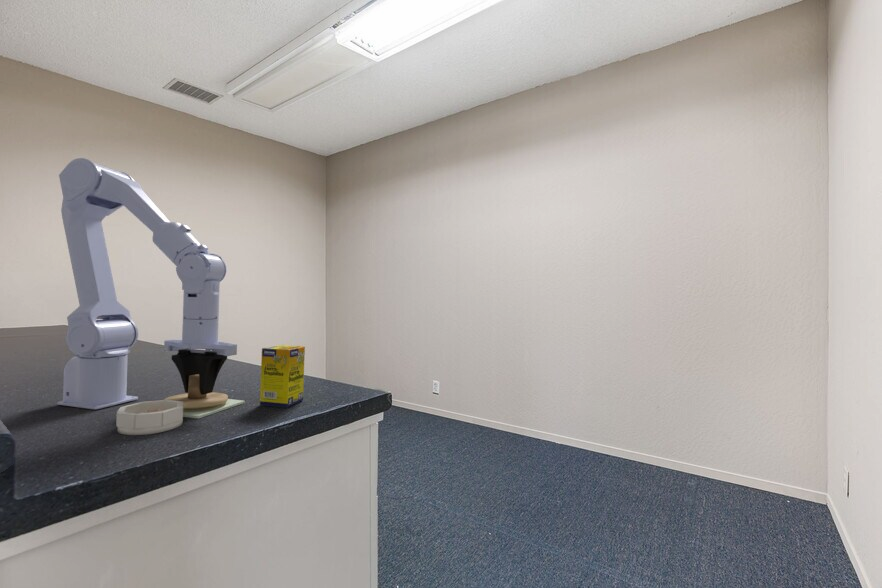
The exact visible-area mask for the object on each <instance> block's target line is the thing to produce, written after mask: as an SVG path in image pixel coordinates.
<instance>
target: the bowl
mask: <svg viewBox="0 0 882 588" xmlns="http://www.w3.org/2000/svg"><path fill="white" fill-rule="evenodd" d="M183 403H184V402H182V401H174V400H165V399H160V400H148V401H140V402H136V403H131V404H128V405H124V406H120V407H119V409H118V410H117V411H116V419H115V420H116V422H115V423H116V424H115V426H116V427H117V433H119V434H120V435H121V434H122V435H127V436H141V435H142V436H143V435H152V434H153V435H154V434H158V433H162V432H163V433H164V432H167V431H171V430H174V429H177V428H179V427H180V426H182V424H183V421H184V419H183V418H184V417H183Z"/></svg>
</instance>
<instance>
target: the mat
mask: <svg viewBox="0 0 882 588" xmlns="http://www.w3.org/2000/svg"><path fill="white" fill-rule="evenodd" d="M242 404H246V401H245V400H241V399H234V398H233V399H232V398H228V401H227V402H225V403H223V404H220V405H216V406H210V407H203V408H183V418H190V419H197V420H198V419H201V418H204V417H208V416H210V415H214V414H216V413H219V412H222V411H225V410H228V409H231V408H234V407H236V406H239V405H242Z"/></svg>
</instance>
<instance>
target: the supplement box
mask: <svg viewBox="0 0 882 588" xmlns="http://www.w3.org/2000/svg"><path fill="white" fill-rule="evenodd" d="M305 348H306V346H301V345H284V344H278V345H275V346H270V347H269V346H268V347H262V348H261V363H260V364H261V365H260V388H259V389H260V392H259V393H260V397H259V405H260V406H264V407H265V406H266V407H273V408H274V407H276V408H285V409H287V408H289V407H290V406H294V405H295V404H298V403H300V401H301V402H303V401H304V387H305V386H304V383H305V381H304V380H305V351H306V350H305ZM302 400H303V401H302Z"/></svg>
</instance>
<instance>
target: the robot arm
mask: <svg viewBox="0 0 882 588" xmlns="http://www.w3.org/2000/svg"><path fill="white" fill-rule="evenodd" d="M58 178H59V183H60V188H61V191H62V193H61V194H62V202H61V203H62V204H61V208H60V209H61V210H60V211H61V218H62V223H63V224H62V225H63V228H64V233H65V239H66V243H67V248H68V254H69V258H70V264H71V269H72V273H73V280H74V283H75V290H76V295H77V299H78V303H79V304H78V305H79V306H78V307H77V308H75V310H73V311H72V312H71V313H70V314H69V315H68V316H67V317H66V319H67V330H66V334H65V341H66V342H65V343H66V345H67V348H68V349H69V350H70V351H71V352H72V354H73V355H74V356H73V357H71V358H70V359H69V360H68V361H67V363H65V366H64V367H63V368H64V369H63V387H62V388H63V389H62V390H63V391H62V400H60V401H58V402H57V403H56V404H57V405H59V406H65V407H75V408H81V409H88V410H99V409H103V408H108V407H113V406H116V405H120V404H124V403H128V402H129V403H130V402H132V401H137V400H138V399H139V397H138V396H136V395H135V396H134V395H127V388H128V387H127V385H128V378H127V377H128V357H129V356H128V354H130V353H131V348H132V347H134V345H135V344H136V343H137V341H138V338H139V329H138V327H137V325H136V323H135V322H134V321H133V319H132V317H131V314H130V310H129V309H128V308H127V307H125V306H124V305H123V304H121V302H119V301H118V298H117V293H116V288H115V284H114V278H113V273H112V269H111V263H110V258H109V254H108V249H107V243H106V239H105V232H104V228H103V224H102V223H103V220H104V219H105V218H106V217H107V216H110V215H112V214H113V213H114V212H116V211H118V210H120V208H122V207H125V208H126V209H127V210H128V211H129V212H130V213H131V214H132V215H133V216H135V218H137V219H138V220H139V221H140V222H141V223H142V224H143V225H144V226H146V228H147V229H149V230H150V231H151V232H152V243H153V244H154V245H155V246H156V247H157V248H158V249H159V250H160V251H161V252H162V253H163V254H164V255H165V256H166V257H167V258H168V259H169V260H170V261H171V262H172V263H173V264H174V266H175V271H176V275H177V276H178V279H179V280H180V281H181V284H182V285H181V286H182V287H181V290H182V291H183V295H182V296H183V297H182V298H183V300H182V301H183V302H182V303H183V305H182V329H181V330H182V331H181V334H182V335H181V337H182V339H168V340H164V343H163V345H164V346H163V347H164V348H163V351H164V352H171V351H172V352H177V354H172V355H171V361H172V362H173V363H174V365H175V366H176V369H177V370H178V372H179V375H180V378H181V381H182V382H181V383H182V385H183V389H184V394H185V393H188V384H189V376H190V375H196V374H199V380H200V393H201V394H202V395H205V394H208V393H212V392H213V391H214V388H215V384H216V381H217V379H218V376H219V373H220V371H221V369H222V367H223V365H224V363H225V362H226V361H227V360H228V357H230V356H236V355H237V354H238V344H237V343H229V342H224V341H219V318H220V317H219V314H220V313H219V312H220V308H219V307H220V286H221V285H220V284H221V282H222V281H223V280H224V279H225V276H226V274H227V266H226V263H225V261H224V259H222V256H221V255H220V254H219V255H218V254H215V253H210V252H209V251H208V250H209V247H208V246H207V245H205V244H201V243H200V241H199V240H198V239H196V237H195V236H194V235H193V234H192V233H191V231H192V228H190V227H189V226H188V225H186V224H182V223H180V222H177V221H170V220H169V219H168V218H167V216H166V215H165V214H164V213H163V212H162V210H160V209H159V207H158V206H157V204H155V203H154V201H153V200H152V199H151V198H150V197H149V196H148V195H147V194H146V192H145V191H144V190H143V189H142V185H141V184H140V183H139V182H137V181H135V180H134V178H133V177H132V176H131V175H130V174H128V173H126V172H123V171H118V170H116V169H112V168H110V167H107V166H104V165H101V164H100V163H99V164H98V163H96V162H94V161H92V160H90V159H89V158H84V157H78V158H75V159H72V160H71V161H70V162H69V163H67V165H66V166H65V167H64V169H62V171H61V172H60V173H59V174H58Z"/></svg>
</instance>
